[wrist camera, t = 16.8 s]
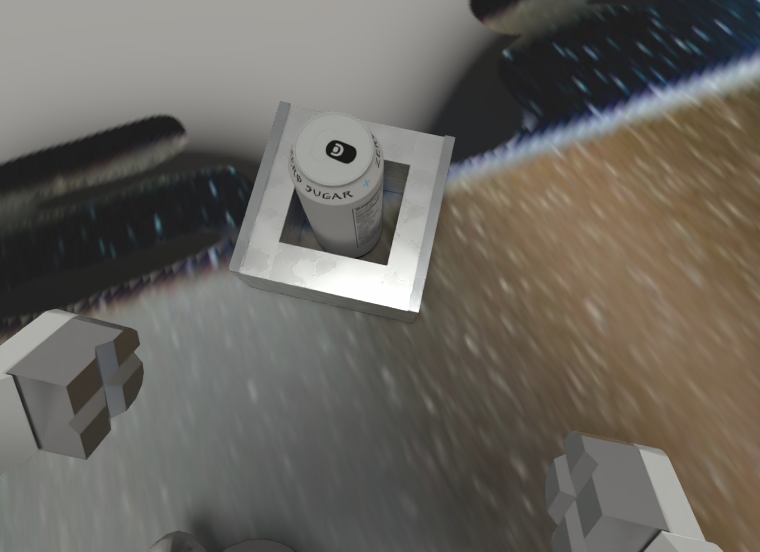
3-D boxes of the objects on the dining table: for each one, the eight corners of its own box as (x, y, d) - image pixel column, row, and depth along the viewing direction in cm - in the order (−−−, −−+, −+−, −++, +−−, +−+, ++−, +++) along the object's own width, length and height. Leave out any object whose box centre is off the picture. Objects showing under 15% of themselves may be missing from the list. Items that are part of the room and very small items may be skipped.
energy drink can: (332, 188, 43) (310, 88, 29) (392, 213, 43) (400, 124, 28) (304, 245, 42) (264, 171, 28) (365, 272, 42) (358, 211, 27)
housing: (444, 172, 44) (455, 137, 38) (412, 323, 41) (418, 312, 34) (293, 140, 44) (280, 101, 38) (250, 286, 41) (228, 269, 35)
